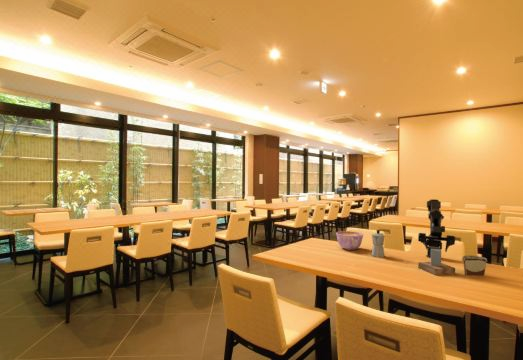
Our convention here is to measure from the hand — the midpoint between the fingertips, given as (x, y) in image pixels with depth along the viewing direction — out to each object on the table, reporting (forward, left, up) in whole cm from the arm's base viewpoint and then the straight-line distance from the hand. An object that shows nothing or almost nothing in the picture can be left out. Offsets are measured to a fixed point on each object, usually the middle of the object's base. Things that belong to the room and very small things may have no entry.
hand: (436, 250), depth 167 cm
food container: (-16, +7, -12) cm, 22 cm away
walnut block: (0, -1, -12) cm, 13 cm away
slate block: (0, -1, -8) cm, 9 cm away
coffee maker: (+14, -37, -12) cm, 41 cm away
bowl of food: (+24, -58, -12) cm, 64 cm away
